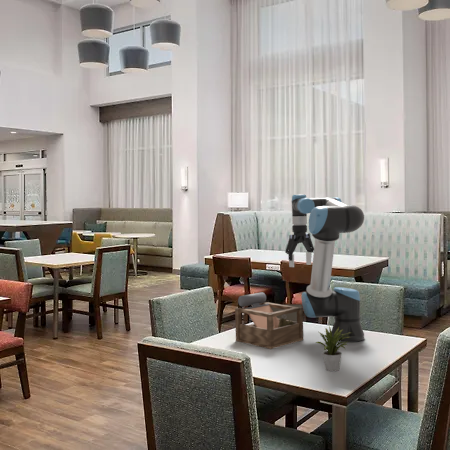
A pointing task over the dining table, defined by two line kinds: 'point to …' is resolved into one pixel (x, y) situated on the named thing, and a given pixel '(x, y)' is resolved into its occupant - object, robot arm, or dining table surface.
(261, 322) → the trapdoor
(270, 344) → the wooden slatted crate
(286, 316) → the laptop
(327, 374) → the dining table surface
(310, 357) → the dining table surface
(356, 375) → the dining table surface
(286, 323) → the cup
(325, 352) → the house plant
